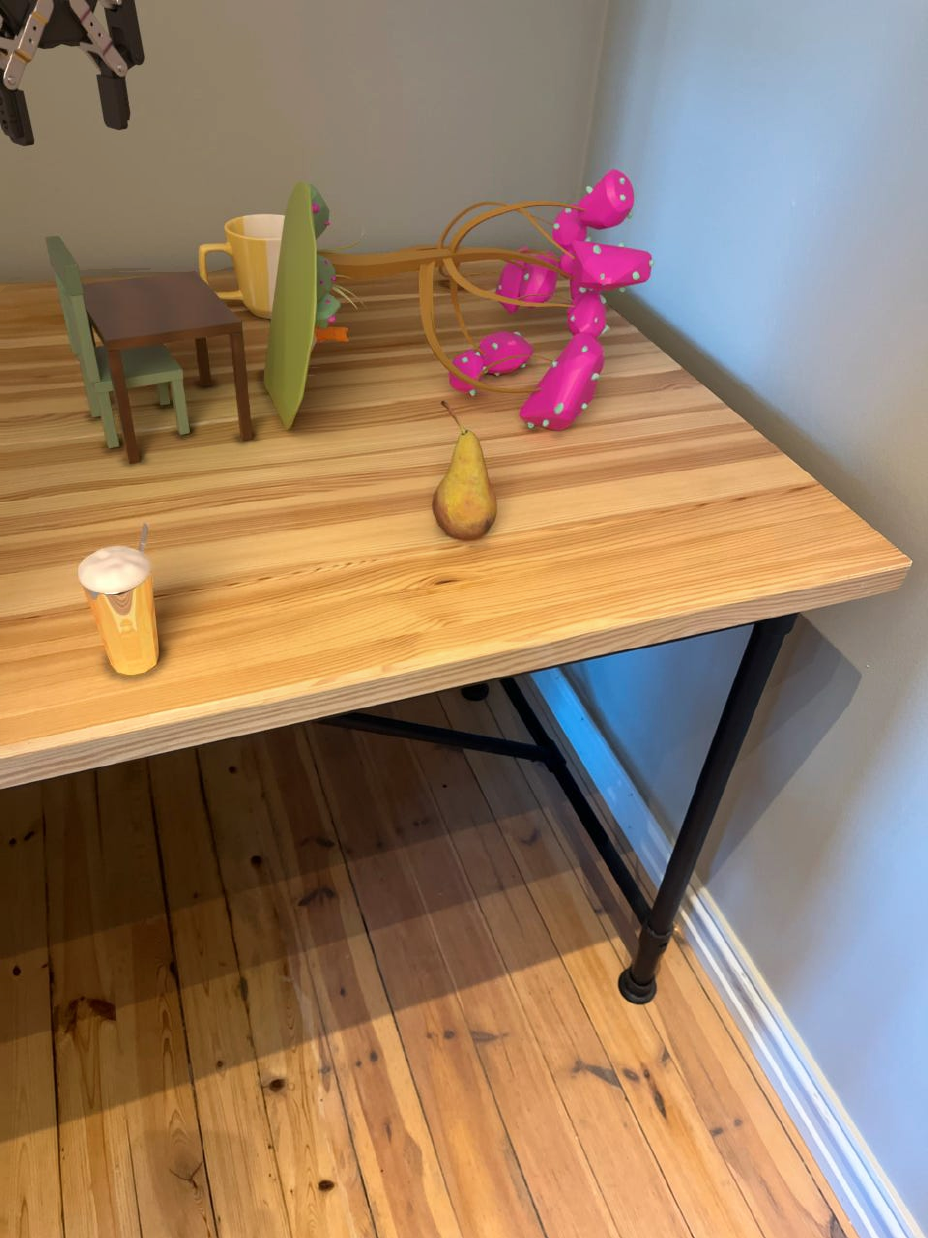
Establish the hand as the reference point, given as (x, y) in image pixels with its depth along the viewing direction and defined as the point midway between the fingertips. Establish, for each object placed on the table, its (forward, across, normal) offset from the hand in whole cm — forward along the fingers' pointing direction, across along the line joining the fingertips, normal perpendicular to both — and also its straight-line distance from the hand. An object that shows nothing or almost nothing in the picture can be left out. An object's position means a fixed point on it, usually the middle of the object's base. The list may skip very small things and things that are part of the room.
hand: (71, 135), depth 72 cm
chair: (+27, -2, -1) cm, 27 cm away
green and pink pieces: (+27, -28, +17) cm, 43 cm away
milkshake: (+27, +20, +26) cm, 42 cm away
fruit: (+27, -9, +34) cm, 45 cm away
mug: (+27, -31, -15) cm, 44 cm away
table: (+27, -5, 0) cm, 27 cm away
